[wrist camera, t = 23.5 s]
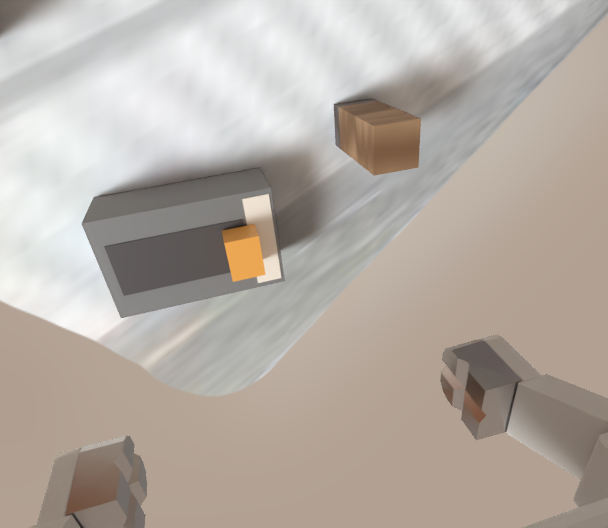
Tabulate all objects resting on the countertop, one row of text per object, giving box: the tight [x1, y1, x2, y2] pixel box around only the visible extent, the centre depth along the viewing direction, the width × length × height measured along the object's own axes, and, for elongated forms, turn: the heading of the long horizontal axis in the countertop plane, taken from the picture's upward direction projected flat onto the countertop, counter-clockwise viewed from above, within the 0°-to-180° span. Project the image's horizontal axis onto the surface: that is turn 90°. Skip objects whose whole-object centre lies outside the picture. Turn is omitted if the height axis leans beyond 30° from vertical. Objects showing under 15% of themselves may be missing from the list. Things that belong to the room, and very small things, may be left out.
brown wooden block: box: [334, 99, 421, 175], centre depth 39 cm, size 4×4×10 cm
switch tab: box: [222, 224, 266, 282], centre depth 38 cm, size 4×3×2 cm
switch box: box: [82, 168, 285, 318], centre depth 41 cm, size 10×16×6 cm, turn 96°
